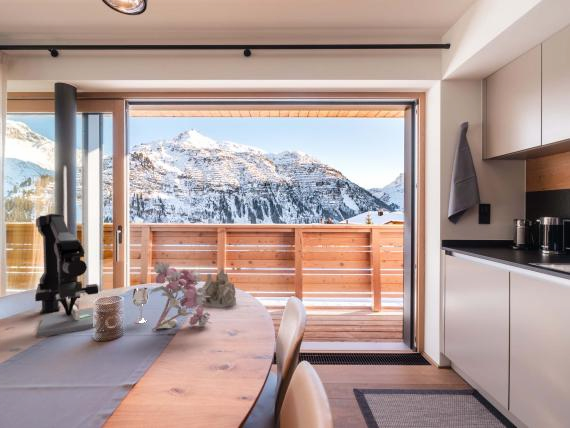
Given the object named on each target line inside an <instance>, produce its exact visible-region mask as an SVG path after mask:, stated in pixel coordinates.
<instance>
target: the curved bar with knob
mask: <svg viewBox="0 0 570 428" xmlns="http://www.w3.org/2000/svg"><path fill="white" fill-rule="evenodd" d="M69 307H70V301H68V308H69ZM79 310H80V302H79V300H76V301H75V303H74V305H73V308H72V311H71V314H72V315H73V317H74V318H75V320H79V319H80V312H79ZM64 312H65V314H66V311H65V310H64Z"/></svg>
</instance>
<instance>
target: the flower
mask: <svg viewBox="0 0 570 428" xmlns="http://www.w3.org/2000/svg"><path fill="white" fill-rule="evenodd" d="M156 262H157V264H154V265H153V270H154V272H155V273H156V274H157V275H156V276H155V284H161V285H160V286H157V287H155V288H153V289H151V292H149V294H150V295H151V294H152V293H154V292H155V293H156V292H159V291H160V290H162V291H164V292H162V294H160V297H167V301H166V304H165V307H164V309H163V311H162V313H161V315H160V317H159V320H158V321H157V323H156V325H155V327H152V328H151V331H152V332H154V331H157V330H158V329H169V330H170V329H172V328H174V327H175V326H176V324H177V323H178V320H177V319H175V318H177V317H179V316H180V317H181V316H183V317H186V316H187V315H188V314H191V315H193V316H192V317H190V320H189V321H188V323H189V325H190V326H194V325H196V324H197V323H198V326H199V327H202V328H204V327H205V326H207V325H206V324H208V323H209V324H212V322H210V321H209V319H210V316H211V314H210V313H209V312H204V307H202V306H203V305H202V304H204V303H203V302H202V301H206V300H204V299H205V297H210V296H204V295H205V293H206V291H205V290H204V289H205V288H202V287H199V288H198V289H197V287H196V285H199V283H200V282H201V281H202V274H201V272H200V271H199V272H197V271H195V270H196V269H195V268H193V269H192V270H190V271H189V269H186V268H184V269H181V270H179V271H178V270H177V269H176V268H175V267H170V263H169V262H167V261H166V260H165V261H163V260H162V261H161V263H160V262H158V259H156ZM166 281H168V284H166V285H165V286H164V285H162V284H165V283H166ZM180 291H181V292H182V293H183V296H181V297H178V295H179V294H178V293H179V292H180ZM175 293H176V294H175ZM174 294H175V296H174ZM177 297H178V298H177ZM203 298H204V299H203ZM198 305H200V306H198ZM196 306H198V307H197V308H196V309H195V311H196V313H193V312H190V311H189V312H187V309H192V308H194V307H196ZM172 308H175V309H177V315H174V316H172V317H167V315H168V313H169V312H170V311H171V309H172Z"/></svg>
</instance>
